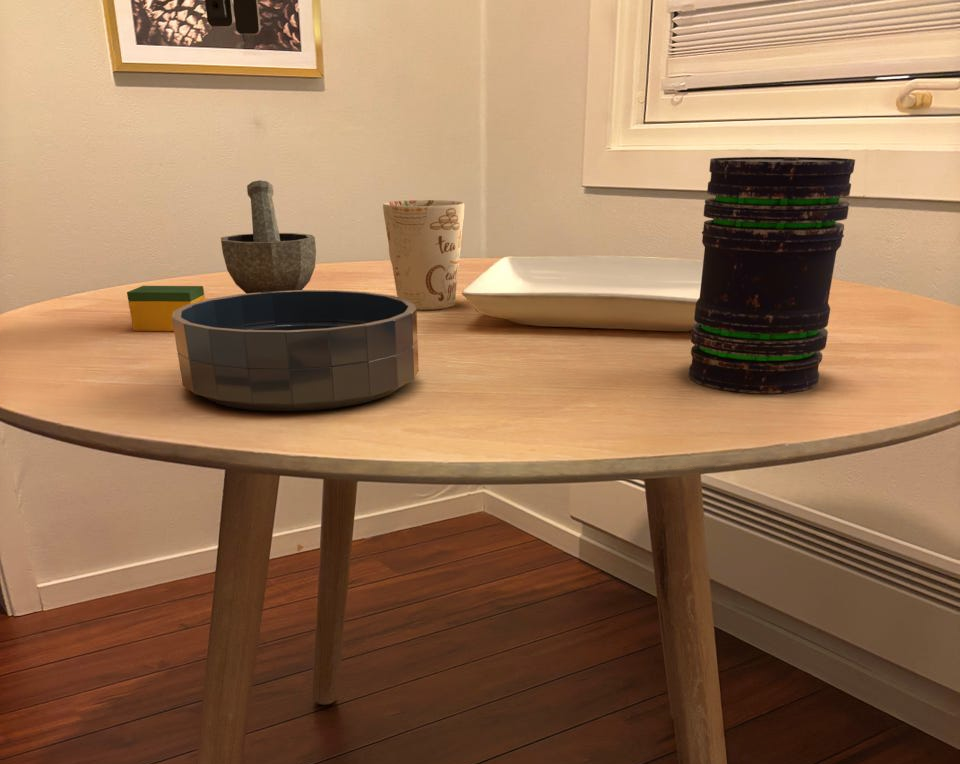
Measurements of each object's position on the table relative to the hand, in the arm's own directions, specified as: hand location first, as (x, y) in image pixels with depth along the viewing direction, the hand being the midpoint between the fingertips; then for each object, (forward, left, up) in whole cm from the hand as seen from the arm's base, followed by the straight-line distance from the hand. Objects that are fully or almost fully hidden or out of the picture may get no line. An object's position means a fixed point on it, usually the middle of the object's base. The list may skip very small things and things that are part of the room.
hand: (235, 30), depth 86 cm
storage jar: (+45, -26, -25) cm, 57 cm away
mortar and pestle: (0, +4, -25) cm, 25 cm away
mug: (+15, +7, -25) cm, 30 cm away
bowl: (+11, -30, -25) cm, 40 cm away
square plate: (+36, +3, -25) cm, 44 cm away
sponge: (-7, -8, -25) cm, 27 cm away
